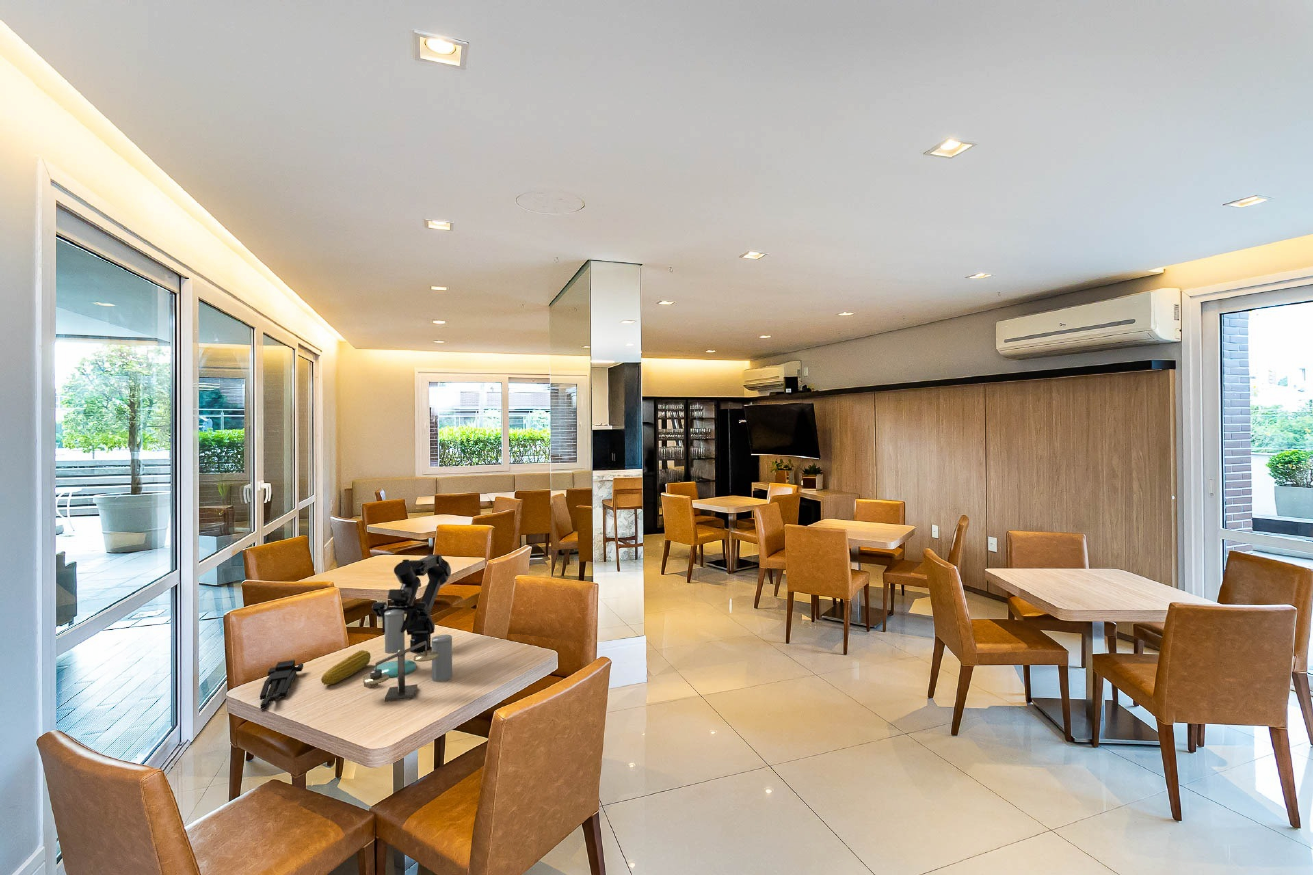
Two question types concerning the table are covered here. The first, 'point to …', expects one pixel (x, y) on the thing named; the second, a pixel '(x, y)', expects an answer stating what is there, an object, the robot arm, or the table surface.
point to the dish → (396, 667)
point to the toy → (279, 681)
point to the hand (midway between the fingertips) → (392, 632)
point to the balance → (399, 674)
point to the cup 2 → (442, 658)
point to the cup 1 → (394, 631)
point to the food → (346, 667)
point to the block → (370, 685)
